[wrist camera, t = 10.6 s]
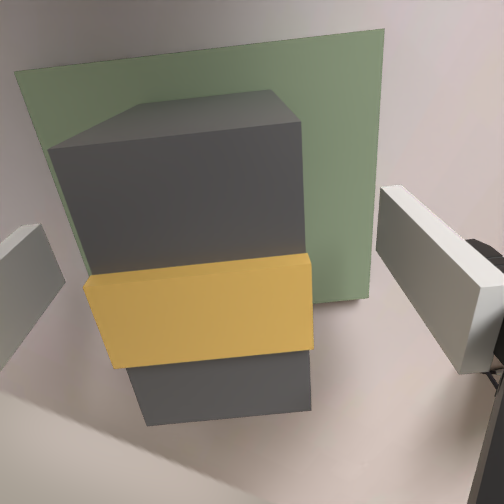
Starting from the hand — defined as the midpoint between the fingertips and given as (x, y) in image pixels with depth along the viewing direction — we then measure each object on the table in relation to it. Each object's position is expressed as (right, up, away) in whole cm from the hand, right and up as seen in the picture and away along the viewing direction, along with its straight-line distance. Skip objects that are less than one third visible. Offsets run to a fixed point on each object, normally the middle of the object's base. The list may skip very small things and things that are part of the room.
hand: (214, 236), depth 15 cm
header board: (0, +2, +6) cm, 6 cm away
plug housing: (0, +2, +4) cm, 5 cm away
